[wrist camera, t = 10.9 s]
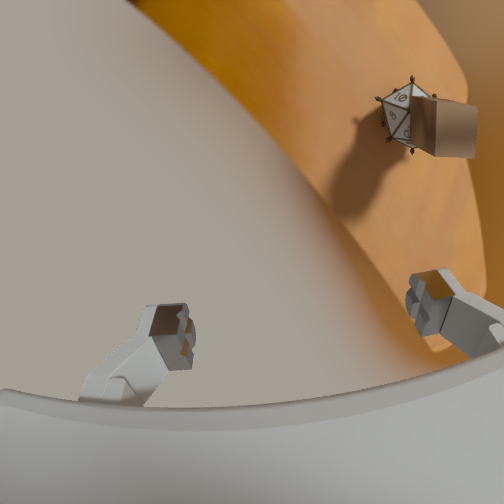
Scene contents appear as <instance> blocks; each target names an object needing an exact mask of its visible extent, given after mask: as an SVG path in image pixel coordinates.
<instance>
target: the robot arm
mask: <svg viewBox="0 0 504 504" xmlns="http://www.w3.org/2000/svg"><path fill="white" fill-rule="evenodd" d="M409 284H410V286H411V288H410V289H409V290H408V291H407V293H406V299H405V301H406V309H407V312H408V314H409V316H410V317H412V318H413V319H415V324H414V325H415V327H416V329H417V331H418V332H419V334H420V336H421V337H424V336H429V335H433V334H437V333H440V335H442V336H443V337H444V338H445V339H447V340H448V341H449V342H451V343H452V344H453V345H455V346H456V347H457V348H458V349H460V350H461V351H462V352H464V353H465V354H466V355H468V356H469V357H470V358H471V359H470V360H467V361H464V362H461V363H458V364H455V365H452V366H450V367H446V368H443V369H440V370H437V371H433V372H430V373H427V374H423V375H420V376H416V377H412V378H409V379H405V380H401V381H397V382H393V383H389V384H385V385H380V386H376V387H372V388H367V389H362V390H358V391H352V392H347V393H342V394H336V395H330V396H324V397H317V398H311V399H303V400H296V401H288V402H279V403H270V404H259V405H247V406H231V407H205V408H160V407H159V408H158V407H156V408H155V407H144V406H143V404H144V403H145V402H146V401H147V399H148V398H149V397H150V396H151V395H152V393H153V392H154V391H155V390H156V388H157V387H158V386H159V384H160V383H161V382H162V381H163V379H164V378H165V377H166V376H167V374H168V373H169V371H171V370H189V369H192V363H193V356H194V354H193V352H192V348H193V347H194V346H195V341H196V333H195V327H194V323H193V320H191V319H190V318H189V309H188V306H187V304H186V303H175V304H159V305H147V306H145V307H144V309H143V312H142V314H141V318H140V320H139V323H138V326H137V329H136V332H135V335H134V337H131V338H129V339H128V340H127V341H126V342H124V343H123V344H122V345H121V346H120V347H119V348H118V349H117V350H115V351H114V352H113V353H112V354H111V355H110V356H108V357H107V358H106V359H105V360H104V361H103V362H102V363H100V364H99V365H98V366H97V367H96V368H95V369H94V370H93V371H91V372H90V373H89V374H88V375H87V377H86V380H85V382H84V385H83V388H82V391H81V393H80V396H79V399H78V401H72V400H65V399H58V398H52V397H46V396H40V395H34V394H30V393H25V392H20V391H16V390H12V389H2V390H0V504H504V310H503V309H502V308H500V307H498V306H496V305H494V304H492V303H490V302H488V301H486V300H484V299H482V298H480V297H478V296H476V295H474V294H472V293H470V292H468V293H466V291H465V290H464V289H463V287H462V286H461V285H460V284H459V282H458V281H457V280H456V278H455V277H454V276H453V275H452V273H451V272H450V271H449V270H448V269H447V268H440V269H435V270H431V271H426V272H420V273H415V274H412V275H411V276H410V279H409Z"/></svg>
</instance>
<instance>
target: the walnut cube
mask: <svg viewBox="0 0 504 504" xmlns="http://www.w3.org/2000/svg"><path fill="white" fill-rule="evenodd" d="M477 120H478V107H475V106H471V105H467V104H463V103H460V102H455V101H451V100H446V99H438V98H430V97H422V96H412V95H410V142H409V143H410V144H412V145H414V146H416V147H418V148H420V149H421V150H423V151H425V152H427V153H429V154H431V155H433V156H434V157H458V158H475V148H476V136H477Z"/></svg>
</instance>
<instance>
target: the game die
mask: <svg viewBox="0 0 504 504" xmlns="http://www.w3.org/2000/svg"><path fill="white" fill-rule="evenodd" d="M414 79H415V78H414V77H413V76H411V77H410V81H411V83H409V84H407V85H406V86H404V87H402V88H400V89H399V90H398V89H396V88H395V92H394V93H392V94H390V95H388V96H387V97H385V98H383V99H381V98H380V97H375V99H376V101H378V102H379V101H380V102H381V103H382V108H383V113H384V117H385V122H382V124H381V125H382V126H383V127H384V126H387V129H388V132H389V135H390V137H388V138H387V140H386V142H390V141H392V139H394V140H396V141H398V142H400V143H402V144H404V145H406V146H408V147H410V148H411V150H410V152H411V154H412V155H413V153H414V148H418V147H416V146H414V145H412V144H410V143H409V142H410V95H412V96H422V97H430V98H436V97H437V96H436V94H433V95H432V96H431V95H429V94H428V93H427V92H425V91H424V90H423V89H421V88H420V87H419V86H417V85H416V84H415V83H414V81H415V80H414Z"/></svg>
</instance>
